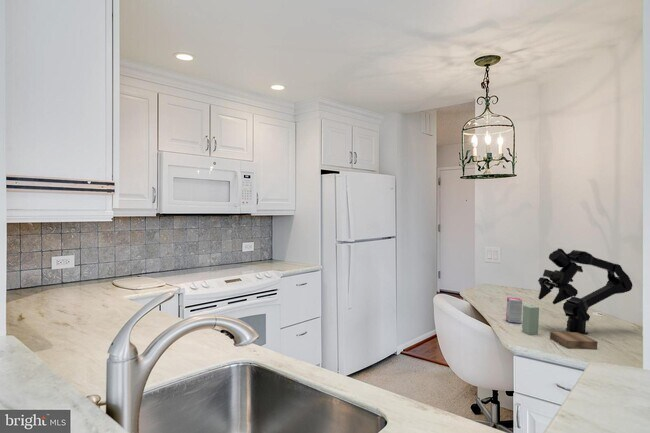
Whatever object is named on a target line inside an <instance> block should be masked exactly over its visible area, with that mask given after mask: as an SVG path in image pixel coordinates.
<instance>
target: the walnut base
mask: <svg viewBox="0 0 650 433" xmlns="http://www.w3.org/2000/svg"><path fill="white" fill-rule="evenodd" d="M549 339H550V340H552V341H553V342H554V343H556V344H558V343H559V345H561V346H562V347H564V348H565V349H572V348H573V350H575V349H577V350H597V349H598V341H596V340H595V339H593V338H591V337H589V336H587V335H586V334H581V333H579V332H570V331H550V332H549Z"/></svg>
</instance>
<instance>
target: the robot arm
mask: <svg viewBox="0 0 650 433" xmlns="http://www.w3.org/2000/svg"><path fill="white" fill-rule="evenodd" d="M548 260H550V261H551V262H552V263H553V264H555V266H556V267H558V268H561V269H560V270H557V269H554V270H549V269H544V271H543V274H542V277H539V279H538V280H537V282H538V283H539V284H538V285H539V286H540V291H539V294H538V296H537V297H538V300H542V299H544V298H545V297H546V296H547V295H549V294H550V293H551V292H552V291H553V289H554V288H556V289H557V290H558V293H557V294H556V296H555V297H554V299H553V301H552V305H556V304H558V303H560V302H563V301H565V302H563V305H562V310H563V312H564V314H565V317H567V320H566V328H565V330H566V331H567V332H579V333H581V334H583V335H589V334H588V331H587V330H586V327H587V326H586V325H587V322H588V321H590V319H591V316H590V314H589V313H588V311H589V308H590V307H593V306H594V305H596V304H598V303H601V302H602V301H604V300H606V299H608V298H609V297H611V296H614V295H616V294H624V293H628V292H630V291H632V289H633V287H634V286H633V282H632V280H631V278H630V276H629V275H628V274H627V272H625V270H624V269H623V268H622V266H621V264H618V263H613V262H610V261H608V260H604V259H601V258H598V257H595V256H594V255H592V254H591V253H590V252H588V251H586V250H585V251H584V250H577V249H573V250H571V251H570V252H568V253H567V252H565V250H564V249H562V248H557V249H556V250H554V251H552V252H551V253H550V254H549V256H548ZM578 264H579V265H578ZM580 264H581V265H580ZM582 265H587V266H592V267H596V268H598V269H602V270H605V271H607V278H606V279H607V281H606V284H605V285H604V286H602V287H600V288H597V289H596V290H594V291H592V292H590V293H588V294H587V295H585V296H582V297H581V298H579V297H578V293H579V292H578V289H576V288H575V287H574V286H573V285H572V284H570V282H571V283H573V282H574V279H573V278H574V276H576V274H577V273H578V272H579V273H583V272H584V270H583V267H582ZM576 296H577V297H576Z"/></svg>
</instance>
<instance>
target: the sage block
mask: <svg viewBox="0 0 650 433" xmlns="http://www.w3.org/2000/svg"><path fill="white" fill-rule="evenodd" d="M539 317H540V307H539V306H536V305H533V304H526V305H525V304H522V322H521V325H522V327H521V328H522V330H521V332H522V333H524V334H526V335H527V336H537V335H539V323H540V322H539V320H540V318H539Z"/></svg>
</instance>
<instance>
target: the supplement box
mask: <svg viewBox="0 0 650 433" xmlns="http://www.w3.org/2000/svg"><path fill="white" fill-rule="evenodd" d="M522 318H523V300H522V299H520V298H519V297H509V296H508V297H507V298H506V314H505V321H506V322H507V323H509V324H515V325H516V324H517V325H522Z"/></svg>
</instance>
